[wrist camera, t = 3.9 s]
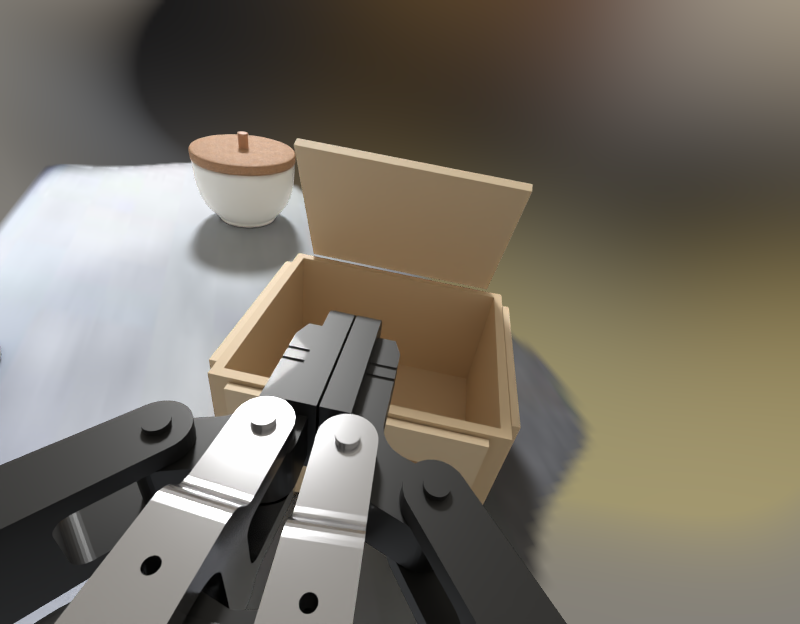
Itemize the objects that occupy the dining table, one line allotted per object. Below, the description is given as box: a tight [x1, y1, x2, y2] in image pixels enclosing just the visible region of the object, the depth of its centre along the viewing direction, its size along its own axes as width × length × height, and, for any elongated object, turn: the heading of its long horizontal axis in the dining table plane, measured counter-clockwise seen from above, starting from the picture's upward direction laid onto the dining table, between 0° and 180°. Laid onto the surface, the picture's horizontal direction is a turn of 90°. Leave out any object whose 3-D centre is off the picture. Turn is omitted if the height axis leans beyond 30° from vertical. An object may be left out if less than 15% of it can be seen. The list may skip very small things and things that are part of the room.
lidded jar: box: [189, 132, 295, 228], centre depth 47 cm, size 11×11×9 cm
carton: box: [208, 253, 520, 505], centre depth 26 cm, size 15×13×8 cm
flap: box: [294, 138, 532, 289], centre depth 25 cm, size 12×1×9 cm, turn 81°
